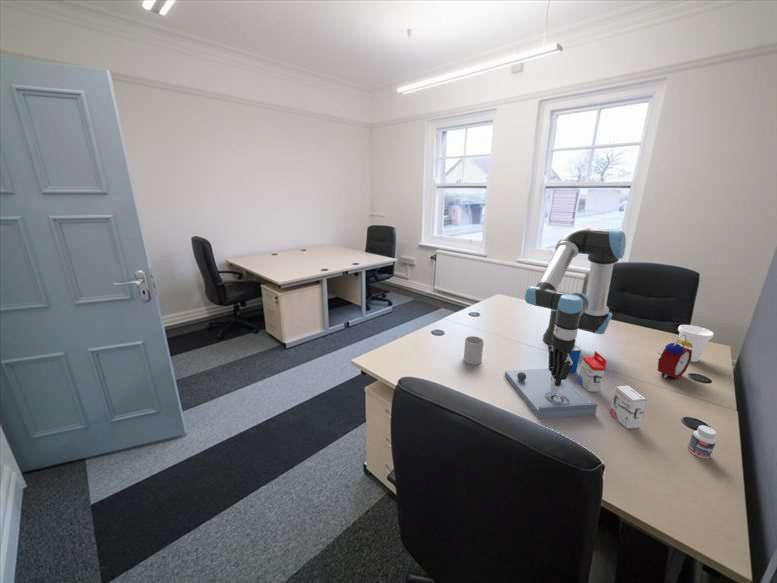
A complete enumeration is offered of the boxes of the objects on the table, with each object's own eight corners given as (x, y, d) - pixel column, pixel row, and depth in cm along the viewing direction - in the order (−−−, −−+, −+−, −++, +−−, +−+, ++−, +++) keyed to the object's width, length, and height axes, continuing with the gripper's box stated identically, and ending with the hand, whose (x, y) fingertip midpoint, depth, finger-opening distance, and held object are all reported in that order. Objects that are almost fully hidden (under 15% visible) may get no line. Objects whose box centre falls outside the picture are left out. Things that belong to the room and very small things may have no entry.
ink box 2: (577, 380, 140) (583, 350, 136) (588, 380, 140) (595, 350, 135) (588, 392, 132) (595, 360, 127) (600, 392, 132) (608, 360, 127)
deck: (504, 375, 143) (505, 366, 142) (551, 373, 145) (552, 364, 144) (539, 418, 117) (540, 408, 115) (595, 414, 119) (597, 404, 117)
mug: (481, 366, 151) (483, 345, 147) (463, 363, 153) (464, 342, 149) (481, 354, 162) (483, 334, 158) (464, 351, 164) (465, 332, 160)
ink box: (608, 412, 120) (615, 385, 116) (620, 412, 120) (628, 384, 116) (626, 429, 112) (634, 400, 108) (640, 428, 112) (648, 399, 108)
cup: (703, 357, 159) (713, 329, 154) (703, 367, 150) (714, 338, 145) (671, 349, 167) (679, 322, 162) (669, 358, 158) (678, 330, 154)
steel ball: (562, 395, 123) (565, 404, 121) (557, 397, 126) (560, 406, 124) (553, 395, 123) (556, 404, 121) (549, 397, 126) (552, 407, 124)
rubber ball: (523, 377, 137) (524, 370, 136) (527, 382, 134) (528, 374, 133) (515, 377, 137) (516, 370, 136) (519, 382, 134) (520, 375, 133)
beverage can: (574, 368, 149) (579, 345, 145) (577, 375, 143) (582, 351, 140) (559, 366, 151) (563, 343, 147) (561, 373, 145) (566, 349, 142)
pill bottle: (691, 456, 101) (700, 433, 98) (684, 444, 105) (692, 421, 102) (713, 461, 99) (722, 437, 96) (704, 448, 103) (713, 426, 101)
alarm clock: (670, 383, 138) (683, 341, 132) (647, 373, 145) (659, 333, 139) (686, 374, 145) (700, 334, 138) (664, 365, 152) (675, 326, 146)
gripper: (544, 329, 124) (535, 381, 131) (565, 345, 112) (554, 402, 119) (562, 328, 125) (553, 380, 132) (585, 344, 112) (573, 400, 120)
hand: (553, 390), depth 126 cm, fingers closed
